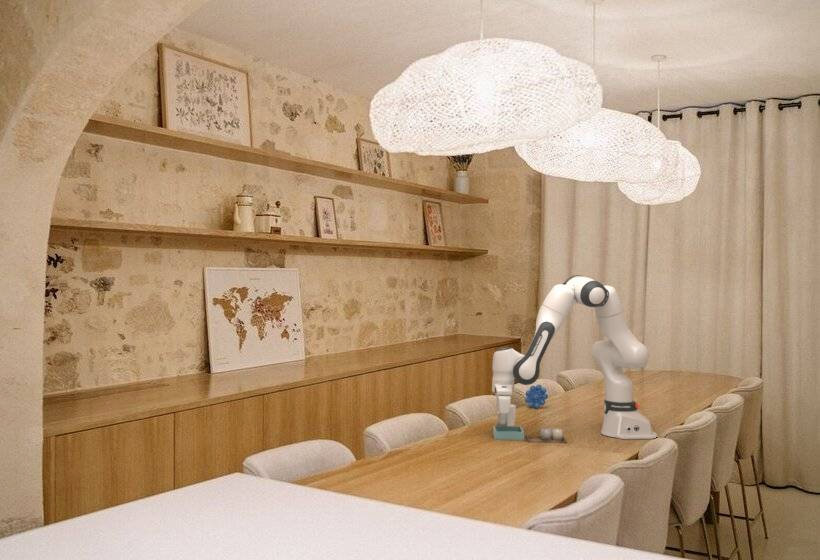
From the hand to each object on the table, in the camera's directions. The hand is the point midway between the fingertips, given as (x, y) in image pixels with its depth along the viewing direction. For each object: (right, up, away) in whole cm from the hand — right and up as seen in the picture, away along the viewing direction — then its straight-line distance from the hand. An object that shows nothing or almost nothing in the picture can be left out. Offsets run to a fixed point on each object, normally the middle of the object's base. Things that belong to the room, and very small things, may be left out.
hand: (502, 421), depth 299 cm
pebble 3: (+21, -6, -6) cm, 23 cm away
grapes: (+26, -7, +68) cm, 73 cm away
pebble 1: (0, -2, 0) cm, 2 cm away
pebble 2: (+17, -6, -6) cm, 19 cm away
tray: (+17, -7, -6) cm, 19 cm away
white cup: (+4, -7, +18) cm, 19 cm away
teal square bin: (+2, -6, 0) cm, 7 cm away
